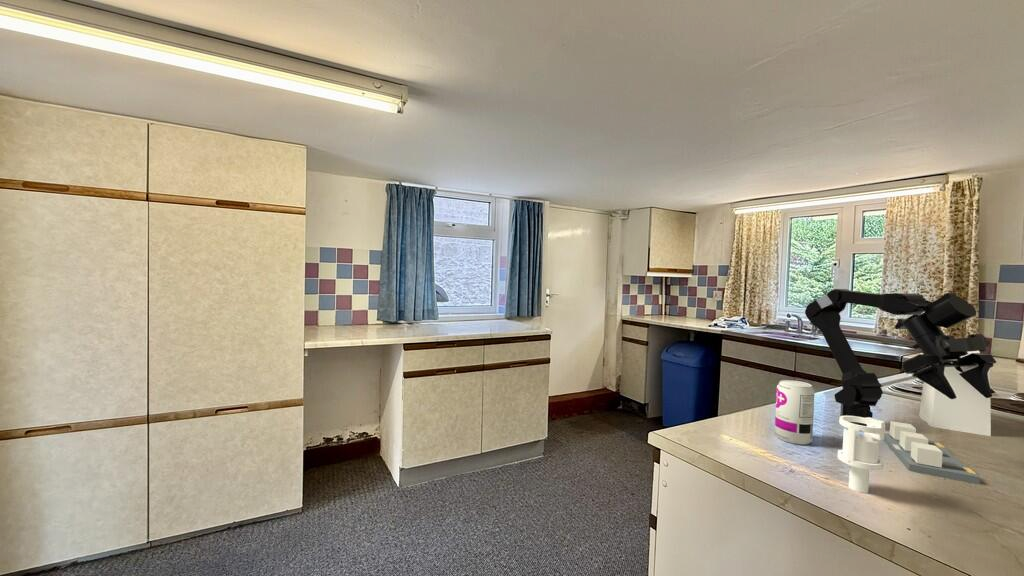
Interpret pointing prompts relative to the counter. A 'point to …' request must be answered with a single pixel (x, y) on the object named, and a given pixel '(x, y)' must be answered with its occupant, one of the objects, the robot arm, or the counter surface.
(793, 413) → the supplement can
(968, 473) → the switch bank
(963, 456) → the counter surface
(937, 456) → the near tab
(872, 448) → the white cylindrical holder
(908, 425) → the cream cube
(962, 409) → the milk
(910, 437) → the middle tab
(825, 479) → the counter surface
